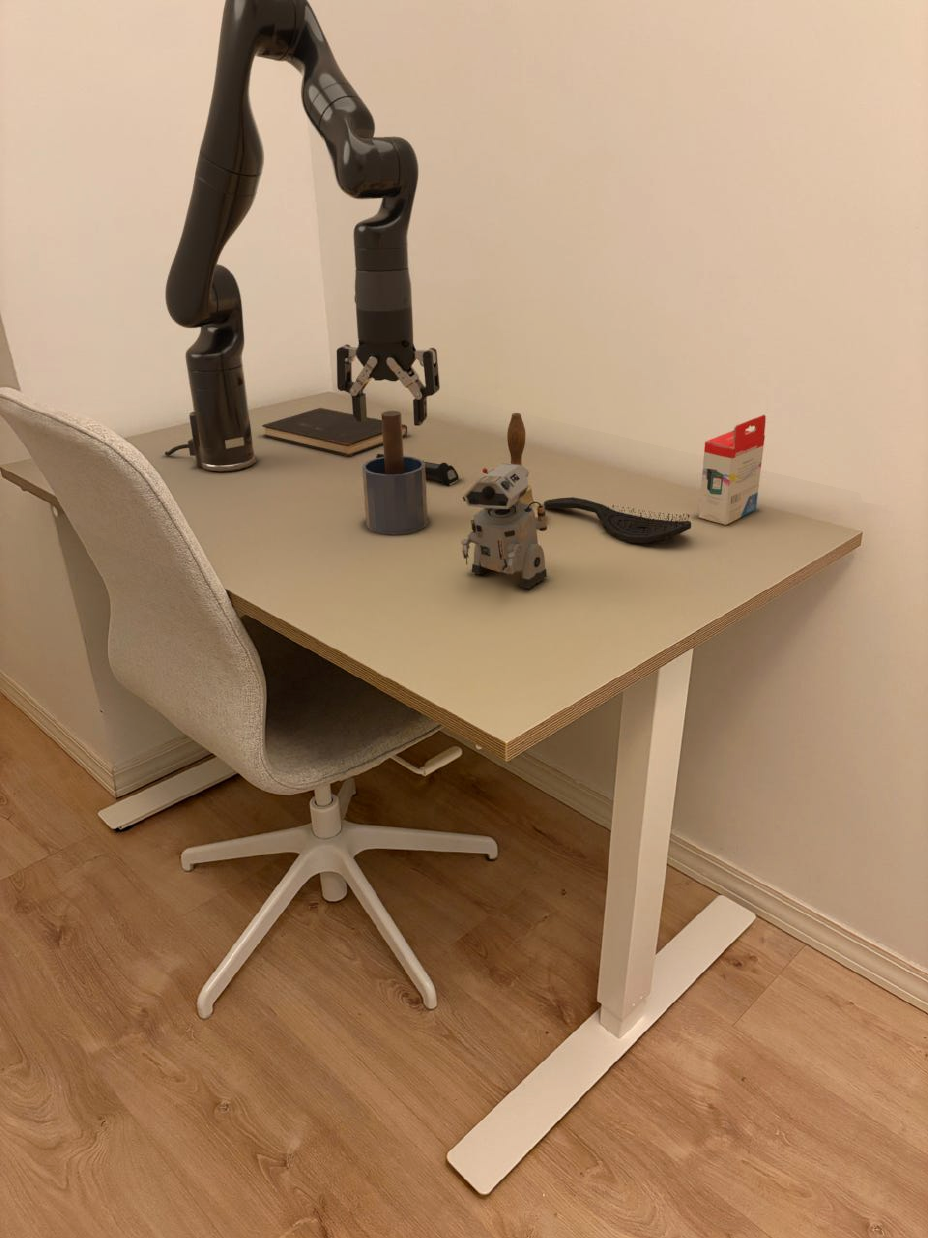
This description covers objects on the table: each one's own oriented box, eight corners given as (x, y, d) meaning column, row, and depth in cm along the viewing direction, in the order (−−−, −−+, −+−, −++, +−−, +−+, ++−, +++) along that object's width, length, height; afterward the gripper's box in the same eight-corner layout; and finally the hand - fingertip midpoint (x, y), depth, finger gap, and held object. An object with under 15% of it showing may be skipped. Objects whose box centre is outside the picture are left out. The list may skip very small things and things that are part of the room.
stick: (385, 522, 143) (378, 415, 136) (391, 515, 145) (385, 410, 138) (403, 523, 142) (397, 416, 135) (409, 517, 145) (403, 411, 137)
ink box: (728, 503, 148) (738, 408, 142) (757, 510, 145) (768, 413, 138) (696, 518, 143) (705, 420, 136) (726, 526, 140) (736, 426, 133)
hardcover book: (348, 456, 174) (347, 444, 173) (263, 436, 187) (261, 424, 186) (407, 435, 185) (407, 423, 184) (323, 418, 198) (322, 406, 197)
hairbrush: (562, 481, 150) (704, 510, 134) (563, 504, 152) (703, 535, 136) (527, 495, 145) (670, 527, 129) (528, 518, 147) (670, 553, 131)
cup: (357, 532, 141) (352, 473, 137) (379, 510, 149) (375, 454, 145) (416, 537, 139) (413, 477, 135) (435, 515, 147) (432, 457, 143)
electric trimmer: (385, 467, 169) (384, 449, 167) (460, 480, 161) (459, 461, 160) (372, 473, 166) (371, 455, 164) (447, 486, 158) (446, 467, 157)
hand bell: (479, 516, 146) (477, 411, 139) (529, 507, 149) (529, 404, 142) (503, 534, 139) (502, 425, 132) (554, 524, 142) (556, 417, 135)
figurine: (444, 590, 123) (440, 477, 116) (497, 560, 131) (496, 452, 124) (503, 608, 118) (503, 490, 111) (554, 575, 126) (556, 464, 119)
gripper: (443, 300, 131) (446, 418, 138) (345, 297, 135) (353, 412, 142) (425, 309, 125) (429, 433, 132) (323, 306, 128) (333, 426, 136)
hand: (390, 422), depth 137 cm, fingers open, 8 cm apart
